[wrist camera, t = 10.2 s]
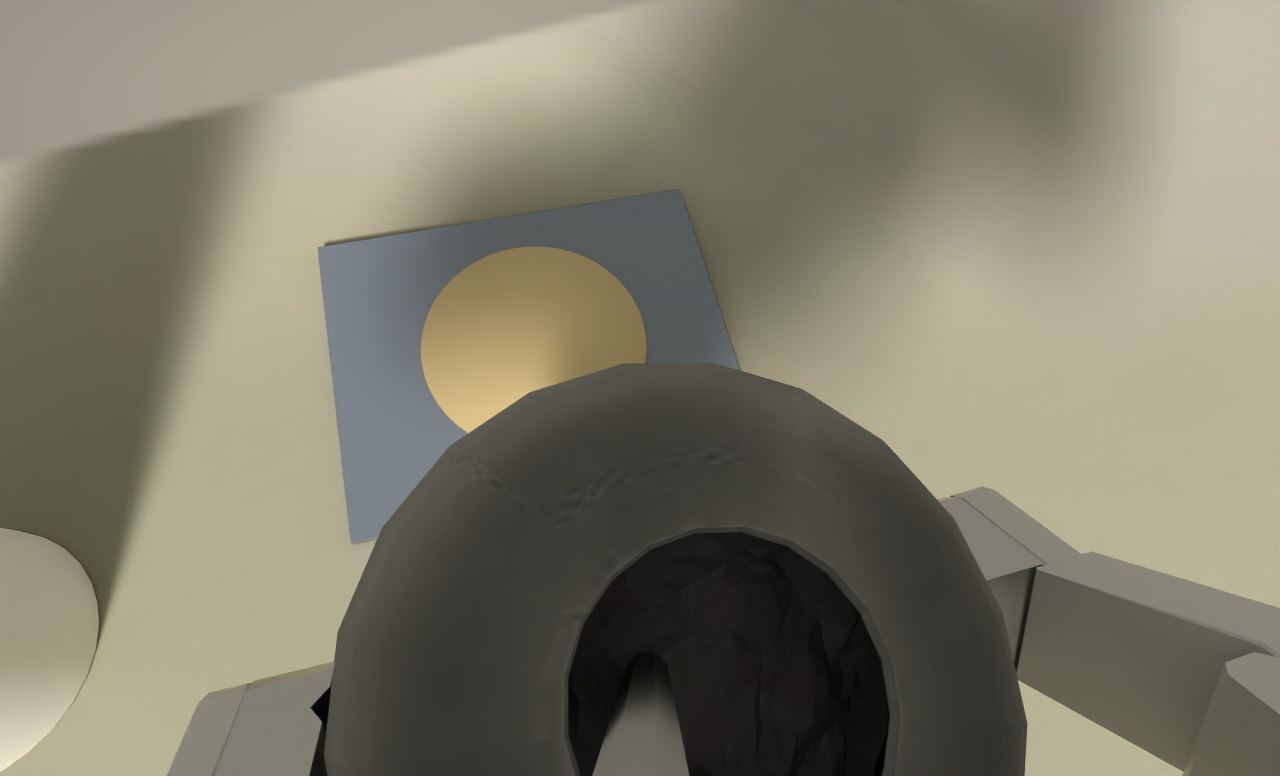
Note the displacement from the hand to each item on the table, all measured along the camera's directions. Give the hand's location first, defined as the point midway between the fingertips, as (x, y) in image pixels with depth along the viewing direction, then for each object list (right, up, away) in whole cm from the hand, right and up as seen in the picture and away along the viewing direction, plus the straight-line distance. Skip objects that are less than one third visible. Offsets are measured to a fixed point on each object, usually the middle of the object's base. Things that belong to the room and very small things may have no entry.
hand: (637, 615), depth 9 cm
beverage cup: (-1, -4, +10) cm, 11 cm away
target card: (-4, +5, +15) cm, 16 cm away
